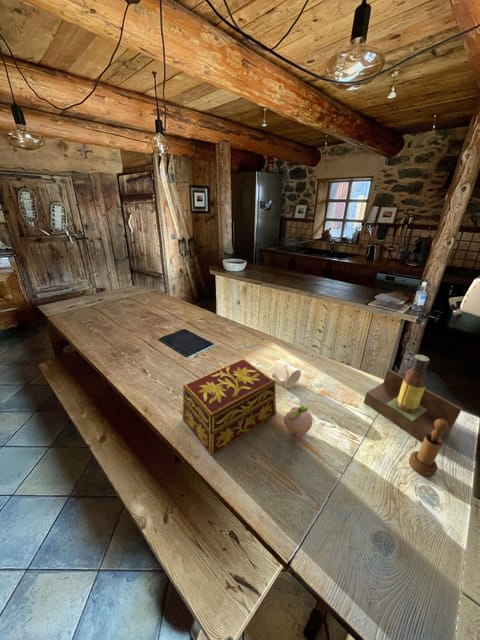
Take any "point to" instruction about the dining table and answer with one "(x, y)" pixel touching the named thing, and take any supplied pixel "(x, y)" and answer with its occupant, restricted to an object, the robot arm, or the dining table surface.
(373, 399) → the shelf
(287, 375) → the mug
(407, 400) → the sauce bottle
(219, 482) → the dining table surface
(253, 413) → the decorative box
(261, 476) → the dining table surface
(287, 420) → the decorative fruit
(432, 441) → the mortar and pestle
